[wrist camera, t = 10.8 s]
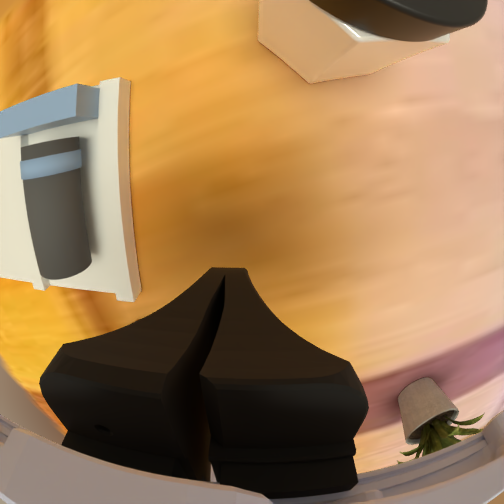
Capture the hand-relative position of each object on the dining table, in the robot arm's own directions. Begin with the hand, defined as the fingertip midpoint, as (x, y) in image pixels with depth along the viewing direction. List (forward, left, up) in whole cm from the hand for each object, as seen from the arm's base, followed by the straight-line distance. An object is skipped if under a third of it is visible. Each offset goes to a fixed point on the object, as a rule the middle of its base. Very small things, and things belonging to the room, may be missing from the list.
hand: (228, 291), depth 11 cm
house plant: (-21, -21, -10) cm, 31 cm away
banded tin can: (+2, +13, -8) cm, 16 cm away
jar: (+14, -5, -10) cm, 18 cm away
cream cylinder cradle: (+2, +18, -9) cm, 21 cm away
